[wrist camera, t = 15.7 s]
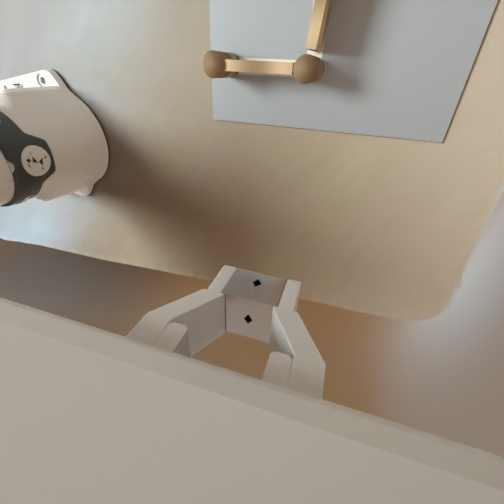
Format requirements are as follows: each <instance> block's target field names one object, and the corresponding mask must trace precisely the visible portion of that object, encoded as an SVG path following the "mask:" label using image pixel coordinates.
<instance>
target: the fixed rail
mask: <svg viewBox="0 0 504 504" xmlns="http://www.w3.org/2000/svg"><path fill="white" fill-rule="evenodd" d="M203 69H204V71H205V73H206V74H207V75H208V76H209V77H211V78H231V77H235V76H237V75H238V73H239V72H251V73H268V74H286V75H294V77H295V79H296V80H297V81H298V82H299V83H301V84H308V83H313V82H316V81H317V80H319V79H320V78H321V76H322V74H323V71H324V65H323V62H322V60H321V59H320V58H318V57H316V56H313V55H310V54H304V55H302V56H300V57H299V58H298V59H297V60H296V62H295V63H293V62H272V61H251V60H239V58H238V56H237V55H236V54H234V53H229V52H222V51H215V50H211V51H208V52H207V53H206V54H205V55H204V58H203Z"/></svg>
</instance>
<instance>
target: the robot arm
mask: <svg viewBox="0 0 504 504" xmlns="http://www.w3.org/2000/svg"><path fill="white" fill-rule="evenodd" d="M108 159H109V154H108V146H107V142H106V138H105V135H104V133H103V130H102V128H101V126H100V124H99V122H98V121H97V119H96V117H95V116H94V114H93V113H92V112H91V110H90V109H89V108H88V107H87V106H86V105H85V104H84V103H83V102H82V101H81V100H80V99H79V98H78V97H77V96H75V95H74V94H73V93H72V92H71V91H70V90H69V89H68V88H67V86H66V85H65V84H64V82H63V81H62V79H61V78H60V77H59V75H58V74H57V73H56V72H55V71H54V70H52V69H45V70H40V71H36V72H32V73H28V74H24V75H20V76H17V77H13V78H9V79H5V80H1V81H0V206H10V205H13V204H19V203H22V202H25V201H26V200H28V199H30V198H33V197H34V198H37V199H41V200H42V201H49V200H52V199H55V198H59V197H62V196H65V195H68V194H71V193H76V194H78V195H81V196H86V195H89V194H90V193H91V192H92V189H93V186H94V184H95V183H96V182H97V181H98V180H99V179H101V178H102V177H103V175H104V174H105V172H106V170H107V166H108ZM301 284H302V283H301V281H296V280H291V279H284V278H279V277H275V276H270V275H266V274H262V273H258V272H254V271H250V270H246V269H242V268H237V267H233V266H229V265H225V266H223V267H222V269H221V270H220V272H219V273H218V275H217V276H216V277H215V279H214V280H213V282H212V283H211V285H210V286H209V288H208V289H202V290H200V291H197V292H195V293H192V294H190V295H188V296H186V297H183V298H181V299H179V300H176V301H174V302H171V303H169V304H167V305H165V306H162V307H160V308H157V309H155V310H153V311H150V312H148V313H146V314H145V316H144V317H143V318H142V319H141V320H140V321H139V323H138V324H137V325H136V326H135V327H134V328H133V329H132V330H131V331H130V333H129V334H128V335H127V336H126V337H124V336H120V335H117V334H114V333H111V332H108V331H105V330H102V329H98V328H95V327H92V326H89V325H86V324H82V323H79V322H76V321H72V320H70V319H66V318H64V317H60V316H57V315H54V314H51V313H48V312H44V311H41V310H38V309H34V308H32V307H29V306H25V305H22V304H19V303H16V302H13V301H9V300H6V299H3V298H0V504H504V456H501V455H498V454H494V453H491V452H488V451H485V450H481V449H478V448H475V447H472V446H469V445H466V444H463V443H460V442H456V441H453V440H450V439H447V438H443V437H441V436H437V435H434V434H431V433H428V432H424V431H422V430H418V429H415V428H412V427H409V426H406V425H402V424H399V423H396V422H393V421H390V420H387V419H383V418H380V417H377V416H374V415H371V414H368V413H364V412H361V411H358V410H355V409H351V408H348V407H345V406H342V405H339V404H336V403H333V402H330V401H326V400H323V399H322V394H323V385H324V376H325V367H326V364H325V362H324V361H323V359H322V357H321V355H320V353H319V351H318V349H317V347H316V346H315V344H314V342H313V340H312V338H311V336H310V334H309V332H308V331H307V329H306V327H305V325H304V323H303V321H302V320H301V317H300V316H299V314H298V313H297V307H298V301H299V296H300V290H301ZM225 331H227V332H230V333H234V334H238V335H242V336H246V337H249V338H253V339H256V340H259V341H263V342H265V343H269V346H270V349H271V354H270V356H269V359H268V362H267V365H266V368H265V371H264V374H263V377H262V380H260V379H257V378H254V377H250V376H247V375H244V374H241V373H238V372H235V371H232V370H228V369H225V368H222V367H219V366H216V365H212V364H209V363H206V362H203V361H200V360H197V359H193V358H191V356H193V355H194V354H195V353H197V352H198V351H200V350H201V349H202V348H204V347H205V346H207V345H208V344H210V343H211V342H212V341H214V340H215V339H217V338H218V337H220V336H221V335H222V334H224V333H225Z"/></svg>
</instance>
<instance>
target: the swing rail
mask: <svg viewBox="0 0 504 504" xmlns="http://www.w3.org/2000/svg"><path fill="white" fill-rule="evenodd" d="M332 3H333V0H315V1H314V6H313V11H312V16H311V21H310V26H309V31H308V36H307V40H306V45H305V48H306V49H308V50H311V51H315V52H321V50H322V46H323V42H324V37H325V33H326V29H327V24H328V20H329V16H330V12H331V7H332Z"/></svg>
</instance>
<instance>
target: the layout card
mask: <svg viewBox="0 0 504 504" xmlns="http://www.w3.org/2000/svg"><path fill="white" fill-rule="evenodd" d="M314 1H315V0H210V32H211V50H215V51H222V52H229V53H234V54H236V55H237V56H238V58H239V60H251V61H272V62H293V63H295V62H296V60H297V59H298V58H299V57H300V56H302V55H304V54H310V55H313V56H316V57H318V58H320V59H321V60H322V62H323V65H324V71H323V74H322V76H321V78H320V79H319V80H317V81H316V82H313V83H308V84H301V83H299V82H298V81H297V80H296V79H295V77H294V75H286V74H268V73H251V72H239V73H238V75H237V76H235V77H231V78H212V101H213V120H223V121H233V122H243V123H253V124H263V125H273V126H283V127H293V128H302V129H312V130H322V131H332V132H342V133H352V134H362V135H372V136H382V137H392V138H402V139H411V140H421V141H431V142H441V143H442V142H443V140H444V137H445V134H446V132H447V129H448V127H449V124H450V122H451V119H452V117H453V114H454V111H455V109H456V106H457V104H458V101H459V99H460V96H461V94H462V91H463V88H464V86H465V83H466V81H467V78H468V76H469V73H470V71H471V68H472V65H473V63H474V60H475V58H476V55H477V53H478V50H479V48H480V45H481V42H482V40H483V37H484V35H485V32H486V30H487V27H488V25H489V22H490V19H491V17H492V14H493V12H494V9H495V7H496V4H497V2H498V0H333V3H332V7H331V12H330V16H329V20H328V24H327V29H326V33H325V37H324V42H323V46H322V50H321V52H315V51H311V50H308V49H306V48H305V45H306V40H307V36H308V31H309V26H310V21H311V16H312V11H313V6H314Z"/></svg>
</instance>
